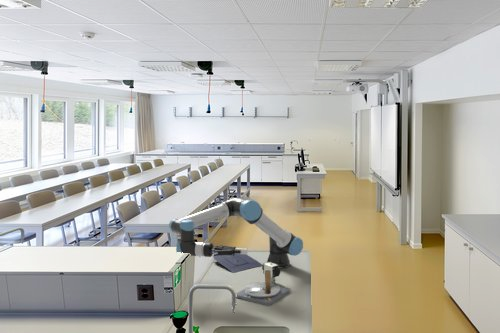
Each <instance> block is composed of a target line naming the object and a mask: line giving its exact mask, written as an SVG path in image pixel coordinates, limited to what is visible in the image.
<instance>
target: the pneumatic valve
mask: <svg viewBox="0 0 500 333" xmlns="http://www.w3.org/2000/svg"><path fill="white" fill-rule="evenodd" d="M262 265H263V266H261V269H262V271H263V272H262V273H263V274H264V275H265V271H266V270H270V271H271V283H274V284H276V281H277V280H276V278H277V277H280V274H281V268H279V265H276V264H275V263H274V264H273V263H271V262H267V261H266V262H264V263H263V264H262Z"/></svg>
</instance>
